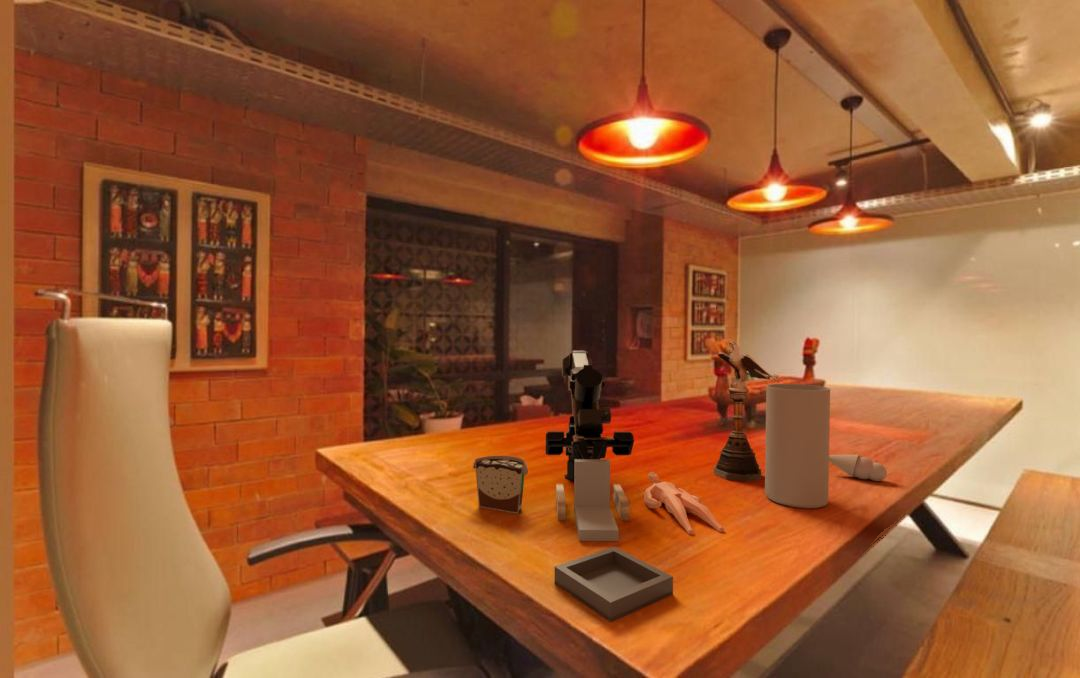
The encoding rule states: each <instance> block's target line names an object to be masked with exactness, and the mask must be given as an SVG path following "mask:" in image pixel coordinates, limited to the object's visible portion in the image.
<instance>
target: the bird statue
mask: <svg viewBox="0 0 1080 678" xmlns="http://www.w3.org/2000/svg"><path fill="white" fill-rule="evenodd" d="M728 346H730V347H729V348H728V351H726V353H724V352H719V353H718V354H717V357H719V358H720V359H722V361H724V362H725V363H726V364H728V366H730V367H731V368H732V369H733V370H734V376H735V378H734V379H733V380H732V381H730V387H728V388H727V391H728V392H729V394H728V398H729V399H730V400H733V402H732V403H733V415H732V416H731V418H732V419H733V430H731V432H730V433H729V434H728V438H727V440H726V442H725V445H724V446H723V447H722V449H721V451H720V452H719V454H720V455H719V458H718V461H717V463H716V464H715V465H714V466H713V475H715V476H717V477H720V478H722V479H725V480H728V481H736V482H742V483H743V482H744V483H745V482H746V483H747V482H754V481H761V478H762V469H761V468H760V465H759V464H758V461H757V458H756V452H754V449H752V447H751V444H750V443H749V440H748V435H747V434H746V433H745V432H744V431H743V428H744V427H743V421H744V418H745V416H744V410H743V409H744V405H743V403H744V401H746V400H748V393H749V391H750V390H749V388H747V384H746V378H747V375H749V377H750V378H751V379H752V378H755V379H759V380H761V379H762V380H770V379H771V378H772V379H773V380H774V381H775V382H777V384H780V381H779V380H778V377H779V375H778V374H775V373H769V372H768V371H767V370H765V369H764V368H763V367H762V366H761V364H759V363H758V362H757V361H756V360H755V359H754V358H753V357H751V356H750V355H749V354H742V356H741V355H740V347H739V345H738V344H737V343H736V342H734V341H729V342H728ZM731 348H732V351H731Z"/></svg>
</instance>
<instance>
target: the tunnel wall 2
mask: <svg viewBox="0 0 1080 678" xmlns="http://www.w3.org/2000/svg"><path fill="white" fill-rule="evenodd" d="M612 502H613V503H614V507H615V509H616V511H617V513H618V516H619V518H620V520H621V521H622V522H623V521H625V522H626V521H628V522H629V521H630V501H629V500H628V497H627V496H626V493H625V491H624V489H623V488H622V486H621V484H620V483H612Z"/></svg>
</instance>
